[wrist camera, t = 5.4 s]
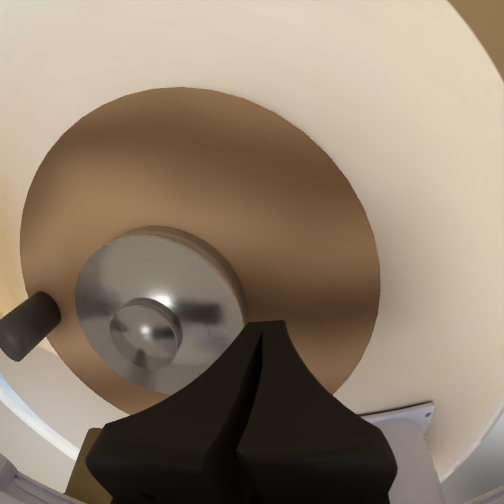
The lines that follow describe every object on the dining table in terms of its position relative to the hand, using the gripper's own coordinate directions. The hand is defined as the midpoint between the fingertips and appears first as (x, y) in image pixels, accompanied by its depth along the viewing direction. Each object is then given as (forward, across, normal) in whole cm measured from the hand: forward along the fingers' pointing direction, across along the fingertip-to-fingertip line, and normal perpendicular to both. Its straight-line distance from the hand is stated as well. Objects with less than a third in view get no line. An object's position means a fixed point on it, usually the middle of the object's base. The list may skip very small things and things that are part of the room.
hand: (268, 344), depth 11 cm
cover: (+3, +5, 0) cm, 6 cm away
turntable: (+5, +5, 0) cm, 7 cm away
